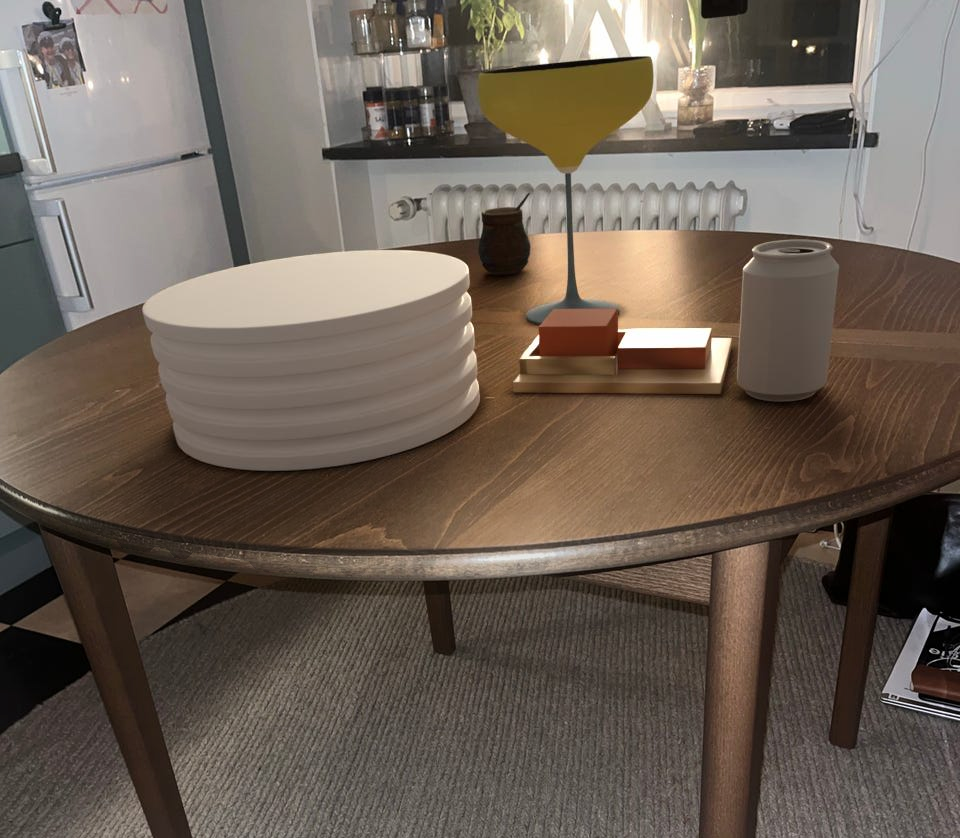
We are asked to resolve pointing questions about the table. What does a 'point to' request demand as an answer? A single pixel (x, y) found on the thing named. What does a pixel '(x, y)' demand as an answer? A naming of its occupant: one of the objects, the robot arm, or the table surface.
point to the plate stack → (316, 358)
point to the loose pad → (579, 332)
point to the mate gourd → (504, 240)
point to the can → (787, 319)
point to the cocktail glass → (566, 123)
